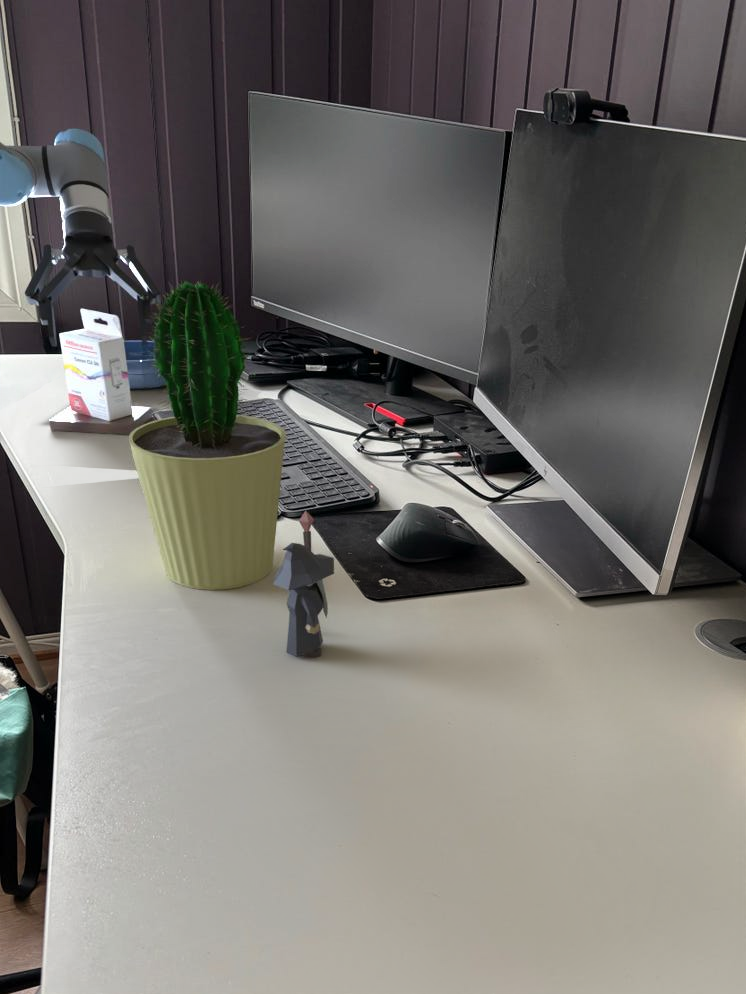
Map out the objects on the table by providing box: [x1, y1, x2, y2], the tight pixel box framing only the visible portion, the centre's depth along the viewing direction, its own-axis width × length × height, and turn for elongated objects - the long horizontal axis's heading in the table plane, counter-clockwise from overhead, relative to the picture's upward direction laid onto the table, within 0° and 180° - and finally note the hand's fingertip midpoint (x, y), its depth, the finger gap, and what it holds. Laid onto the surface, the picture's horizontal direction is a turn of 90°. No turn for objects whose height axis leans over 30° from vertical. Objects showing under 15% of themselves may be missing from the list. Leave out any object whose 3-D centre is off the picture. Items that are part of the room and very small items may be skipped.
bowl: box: [124, 340, 166, 390], centre depth 169 cm, size 16×16×5 cm
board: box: [48, 405, 154, 436], centre depth 146 cm, size 12×10×2 cm
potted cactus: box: [128, 279, 287, 591], centre depth 97 cm, size 15×15×30 cm
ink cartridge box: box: [58, 308, 133, 421], centre depth 142 cm, size 9×5×15 cm, turn 62°
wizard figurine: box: [273, 510, 335, 658], centre depth 87 cm, size 8×6×12 cm
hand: (99, 341), depth 152 cm, fingers open, 13 cm apart
